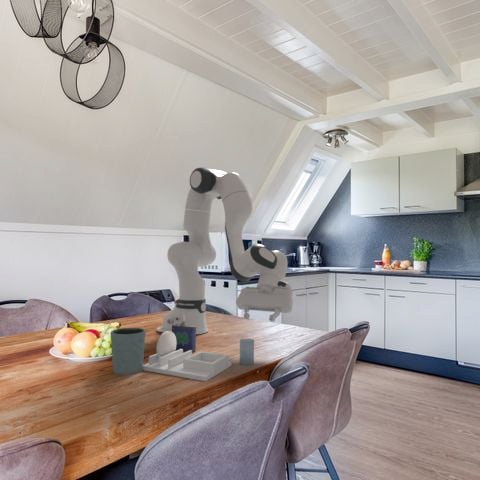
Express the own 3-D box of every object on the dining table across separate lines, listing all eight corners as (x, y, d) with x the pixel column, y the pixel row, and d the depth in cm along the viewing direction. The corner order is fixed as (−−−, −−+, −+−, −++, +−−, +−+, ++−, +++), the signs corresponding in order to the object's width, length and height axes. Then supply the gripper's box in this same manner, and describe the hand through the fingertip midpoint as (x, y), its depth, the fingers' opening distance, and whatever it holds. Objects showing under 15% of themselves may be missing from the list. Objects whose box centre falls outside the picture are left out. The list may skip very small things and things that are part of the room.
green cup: (125, 378, 109) (126, 335, 109) (102, 372, 114) (103, 331, 115) (152, 369, 118) (152, 329, 118) (129, 364, 123) (129, 325, 123)
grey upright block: (237, 363, 124) (237, 340, 124) (243, 360, 128) (243, 338, 128) (250, 365, 122) (250, 342, 122) (256, 361, 126) (256, 339, 126)
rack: (141, 369, 116) (142, 335, 116) (172, 356, 131) (173, 326, 131) (205, 381, 107) (206, 343, 107) (231, 365, 121) (231, 332, 122)
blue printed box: (196, 350, 138) (197, 320, 139) (193, 353, 136) (193, 322, 136) (173, 348, 141) (173, 319, 141) (169, 350, 138) (169, 320, 138)
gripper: (240, 281, 145) (228, 311, 136) (293, 283, 136) (284, 316, 127) (245, 292, 149) (233, 322, 139) (297, 295, 140) (288, 327, 131)
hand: (258, 319), depth 133 cm, fingers open, 8 cm apart
